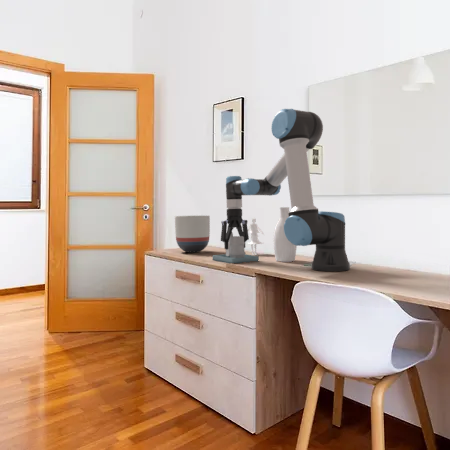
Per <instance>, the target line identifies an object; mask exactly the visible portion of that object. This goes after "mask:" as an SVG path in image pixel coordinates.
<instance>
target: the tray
mask: <svg viewBox="0 0 450 450" xmlns="http://www.w3.org/2000/svg"><path fill="white" fill-rule="evenodd" d="M259 258H260V257H259V255H252V254H246V253H245V257H243V258H231V257H230V256H226V253H225V254H224V253H223V254H215V255H214V254H213V255H212V261H216V262H219V263H226V264H230V263H237V264H243V263H242V262H246V263H251V262H250V261H256V262H259V261H260V259H259ZM258 260H259V261H258Z"/></svg>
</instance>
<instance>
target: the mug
mask: <svg viewBox="0 0 450 450" xmlns="http://www.w3.org/2000/svg"><path fill="white" fill-rule="evenodd" d="M228 243H230V257H231V258H243V257H245V254H246V252H245V248H244V244H245V245H246V242H244V237H243V236H239V235H238V236H237V235H236V236H235V235H234V233H233V232H232V233H231V236H230V239H229V242H228Z"/></svg>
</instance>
